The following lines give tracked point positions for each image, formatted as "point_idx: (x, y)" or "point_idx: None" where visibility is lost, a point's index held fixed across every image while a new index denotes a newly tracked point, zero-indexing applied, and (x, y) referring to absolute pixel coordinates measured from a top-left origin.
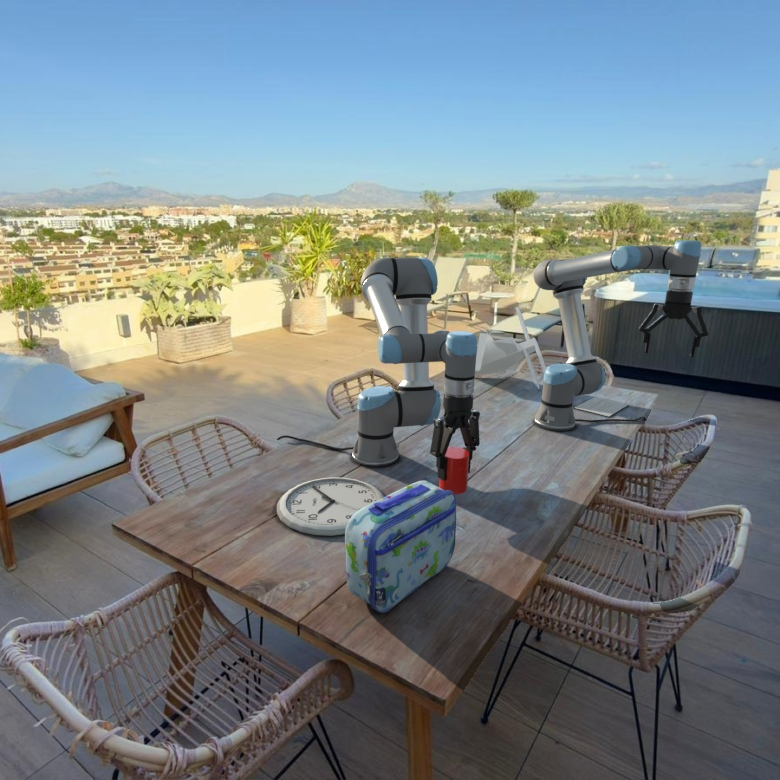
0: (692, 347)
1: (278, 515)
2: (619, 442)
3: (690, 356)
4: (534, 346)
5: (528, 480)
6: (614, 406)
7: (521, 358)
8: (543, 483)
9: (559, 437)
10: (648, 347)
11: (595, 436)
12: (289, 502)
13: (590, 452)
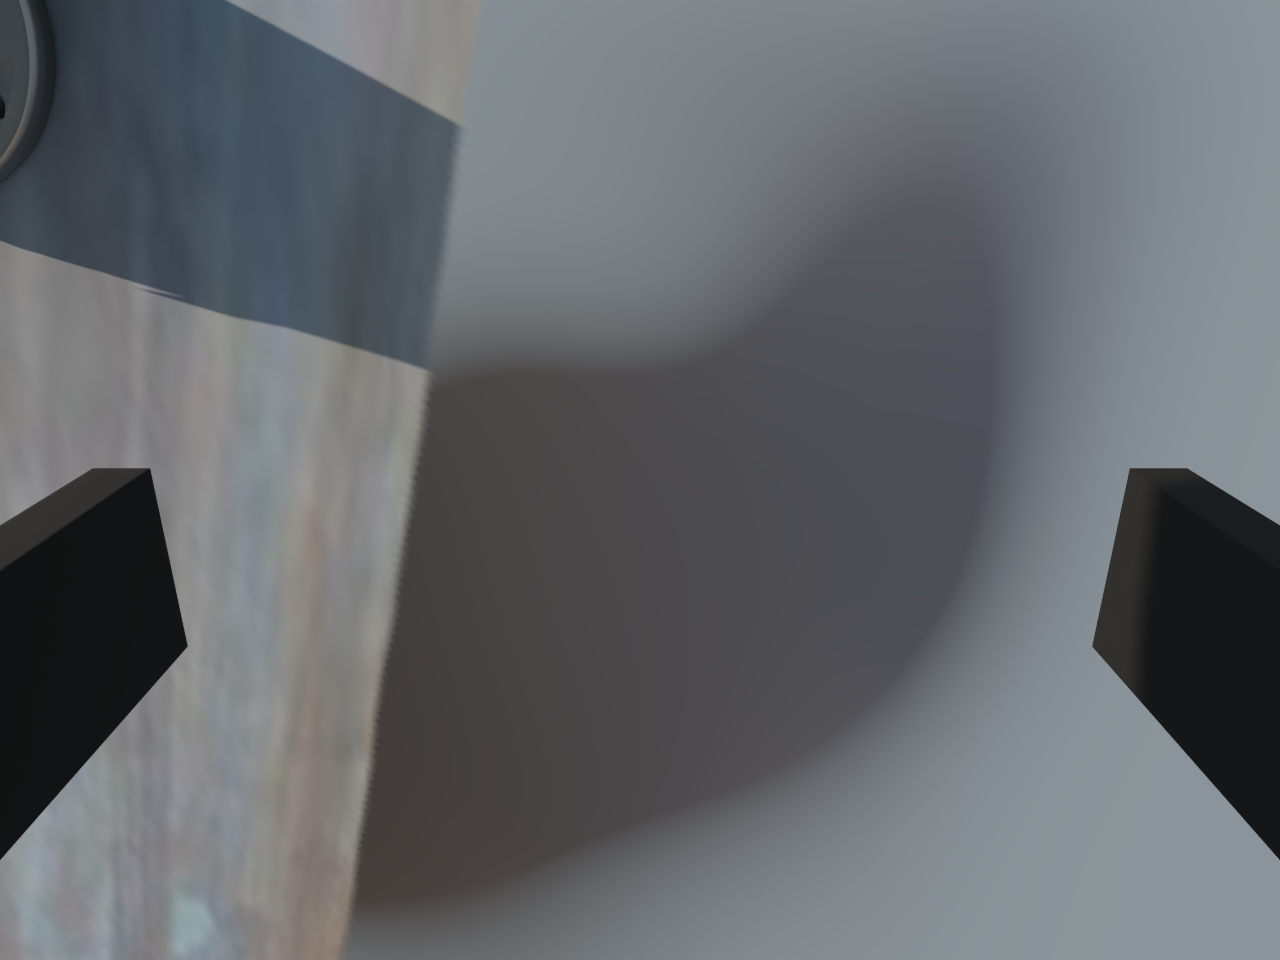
0: (1235, 783)
1: None
2: (424, 239)
3: (1105, 598)
4: None
5: (81, 918)
6: None
7: None
8: (148, 920)
9: (23, 320)
10: (108, 730)
11: (248, 184)
12: None
13: (270, 500)
